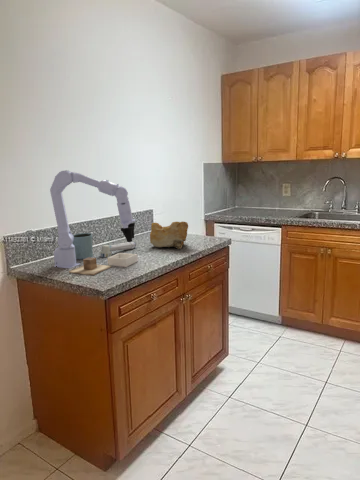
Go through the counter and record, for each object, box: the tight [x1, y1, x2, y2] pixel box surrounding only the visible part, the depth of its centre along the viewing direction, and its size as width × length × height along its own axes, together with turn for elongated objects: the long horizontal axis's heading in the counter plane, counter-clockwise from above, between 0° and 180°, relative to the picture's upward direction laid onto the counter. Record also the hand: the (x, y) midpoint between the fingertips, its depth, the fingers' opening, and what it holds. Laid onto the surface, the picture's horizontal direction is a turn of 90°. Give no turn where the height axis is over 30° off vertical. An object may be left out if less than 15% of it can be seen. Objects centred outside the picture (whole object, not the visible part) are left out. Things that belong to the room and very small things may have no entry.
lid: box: [68, 257, 112, 276], centre depth 162 cm, size 13×13×5 cm
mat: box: [72, 266, 113, 277], centre depth 162 cm, size 14×14×1 cm
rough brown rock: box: [149, 221, 189, 250], centre depth 204 cm, size 23×17×15 cm
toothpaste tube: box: [99, 241, 137, 258], centre depth 194 cm, size 5×7×25 cm
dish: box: [107, 252, 139, 268], centre depth 171 cm, size 10×10×4 cm
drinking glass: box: [72, 232, 94, 260], centre depth 184 cm, size 10×10×12 cm
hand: (130, 239), depth 174 cm, fingers open, 7 cm apart
